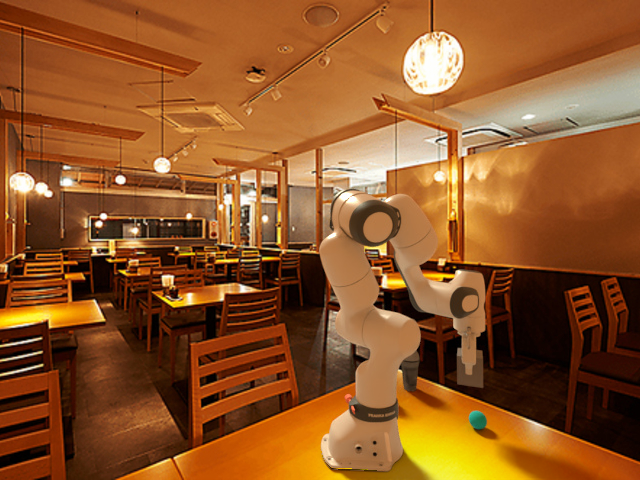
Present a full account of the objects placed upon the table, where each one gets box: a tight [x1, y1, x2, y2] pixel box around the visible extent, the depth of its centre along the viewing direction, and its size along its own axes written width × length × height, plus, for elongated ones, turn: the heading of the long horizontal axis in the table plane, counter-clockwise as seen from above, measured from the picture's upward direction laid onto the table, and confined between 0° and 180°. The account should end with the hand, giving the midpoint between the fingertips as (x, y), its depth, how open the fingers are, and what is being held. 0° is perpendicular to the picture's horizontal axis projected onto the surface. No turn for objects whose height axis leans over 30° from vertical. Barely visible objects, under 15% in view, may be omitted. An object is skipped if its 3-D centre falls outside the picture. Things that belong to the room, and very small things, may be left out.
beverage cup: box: [400, 350, 421, 392], centre depth 130 cm, size 7×7×20 cm
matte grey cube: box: [456, 347, 484, 389], centre depth 105 cm, size 7×7×9 cm
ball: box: [468, 410, 488, 430], centre depth 105 cm, size 5×5×5 cm
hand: (468, 368), depth 105 cm, fingers closed on matte grey cube, 7 cm apart
